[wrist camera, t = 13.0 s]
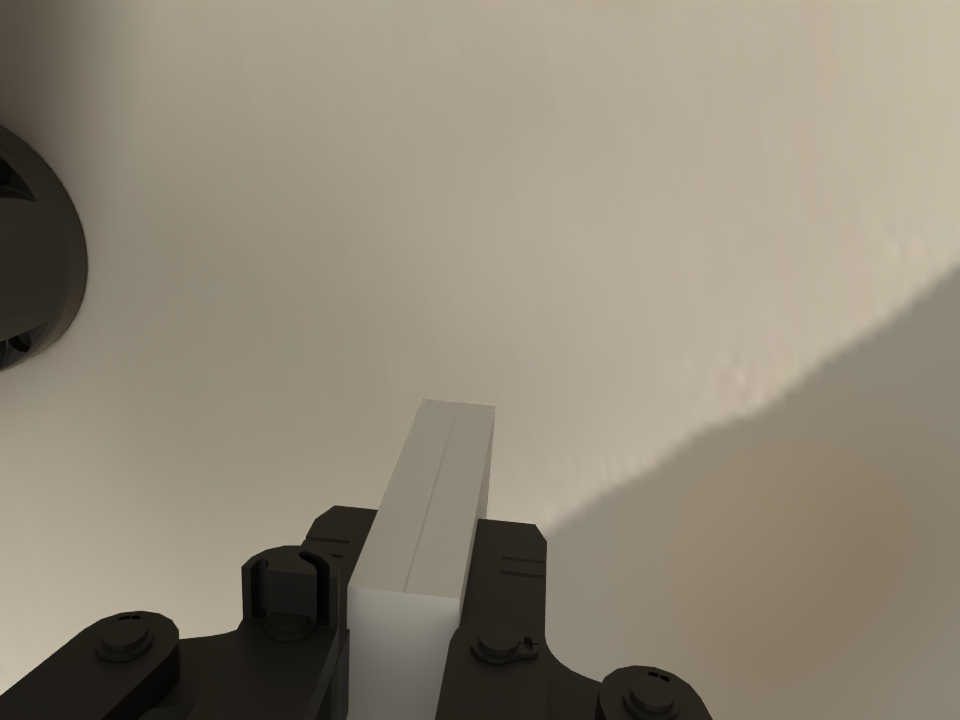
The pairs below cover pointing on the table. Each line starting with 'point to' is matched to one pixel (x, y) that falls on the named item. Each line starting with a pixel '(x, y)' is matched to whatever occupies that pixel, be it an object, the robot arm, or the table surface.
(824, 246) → the table surface
